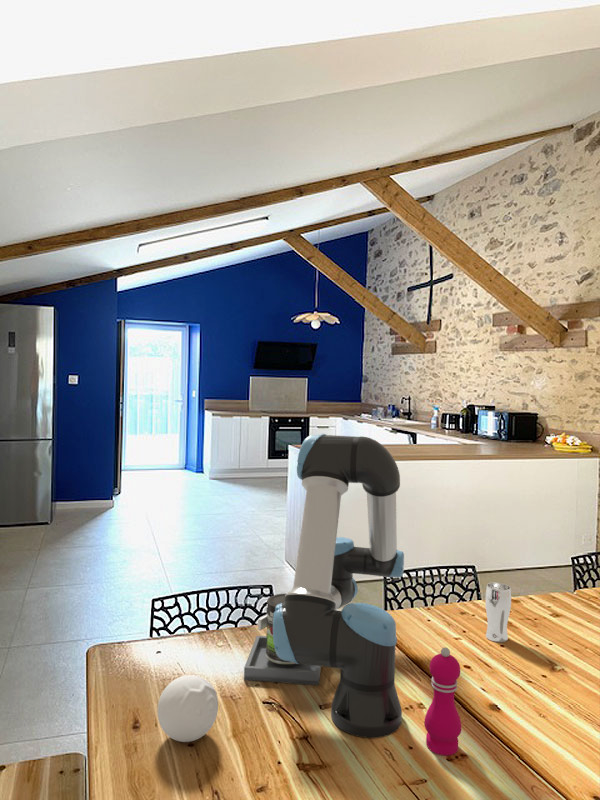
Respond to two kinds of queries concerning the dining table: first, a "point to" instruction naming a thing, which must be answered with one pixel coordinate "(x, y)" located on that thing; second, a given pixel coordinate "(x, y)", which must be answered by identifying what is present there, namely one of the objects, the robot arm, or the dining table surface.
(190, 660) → the dining table surface
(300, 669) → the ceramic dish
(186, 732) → the decorative ball
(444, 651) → the pepper mill
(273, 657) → the coffee can
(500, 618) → the beer glass
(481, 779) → the dining table surface
